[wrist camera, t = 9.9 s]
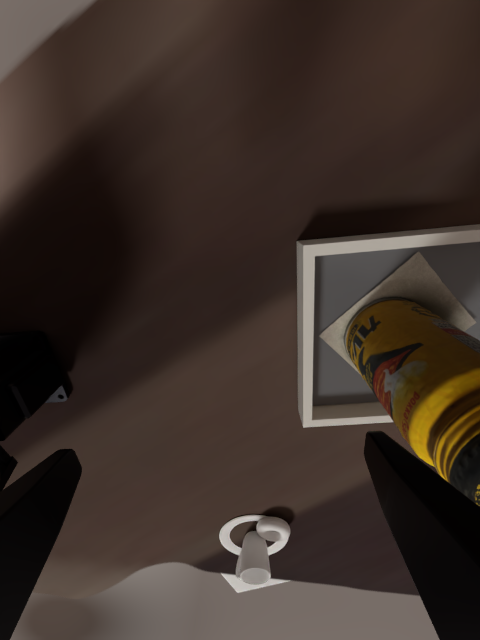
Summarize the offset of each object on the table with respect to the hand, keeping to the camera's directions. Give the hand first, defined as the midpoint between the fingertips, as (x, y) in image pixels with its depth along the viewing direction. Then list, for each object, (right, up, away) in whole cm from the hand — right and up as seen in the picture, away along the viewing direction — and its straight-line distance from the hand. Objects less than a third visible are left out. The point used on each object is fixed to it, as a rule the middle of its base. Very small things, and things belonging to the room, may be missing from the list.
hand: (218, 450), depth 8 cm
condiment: (+12, +4, +12) cm, 17 cm away
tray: (+12, +3, +13) cm, 18 cm away
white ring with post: (+5, -21, +24) cm, 32 cm away
